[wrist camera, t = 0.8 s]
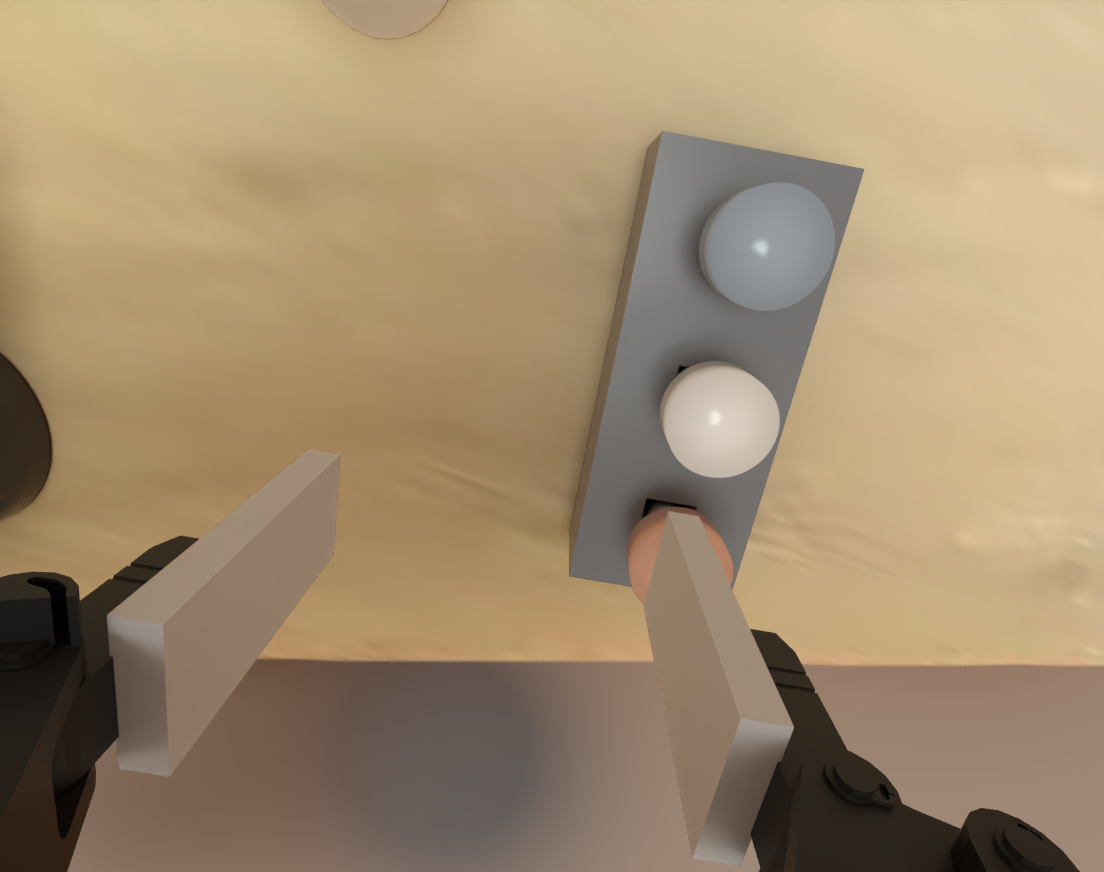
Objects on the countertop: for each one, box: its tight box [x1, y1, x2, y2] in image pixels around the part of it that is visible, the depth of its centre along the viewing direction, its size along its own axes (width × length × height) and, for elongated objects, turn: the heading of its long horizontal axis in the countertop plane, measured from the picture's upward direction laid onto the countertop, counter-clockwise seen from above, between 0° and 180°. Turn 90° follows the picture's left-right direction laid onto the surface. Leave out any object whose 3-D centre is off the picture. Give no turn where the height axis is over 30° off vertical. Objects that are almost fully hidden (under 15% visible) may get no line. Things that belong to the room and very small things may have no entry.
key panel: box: [569, 131, 864, 589], centre depth 36 cm, size 10×25×6 cm, turn 170°
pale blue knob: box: [699, 182, 835, 311], centre depth 29 cm, size 5×5×7 cm
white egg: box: [659, 361, 780, 478], centre depth 32 cm, size 5×5×7 cm
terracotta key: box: [626, 498, 733, 604], centre depth 34 cm, size 5×5×7 cm
